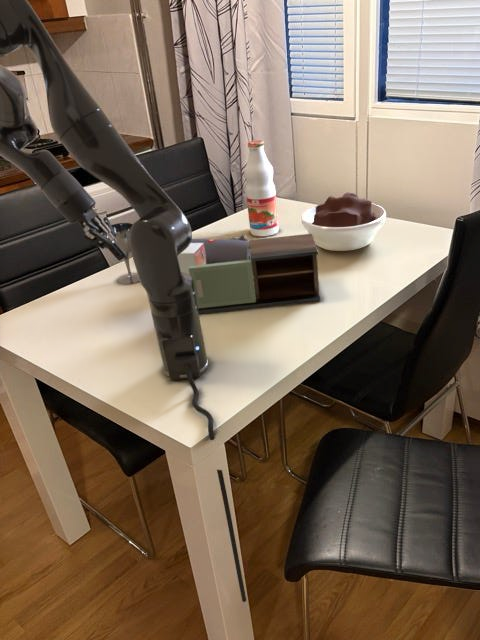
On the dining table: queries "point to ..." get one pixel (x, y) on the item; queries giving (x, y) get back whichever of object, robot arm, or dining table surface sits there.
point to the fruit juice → (260, 192)
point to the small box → (192, 257)
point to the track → (271, 301)
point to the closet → (284, 268)
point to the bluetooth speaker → (225, 250)
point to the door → (223, 283)
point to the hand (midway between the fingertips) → (123, 257)
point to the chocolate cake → (343, 222)
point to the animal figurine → (239, 238)
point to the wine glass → (123, 241)
